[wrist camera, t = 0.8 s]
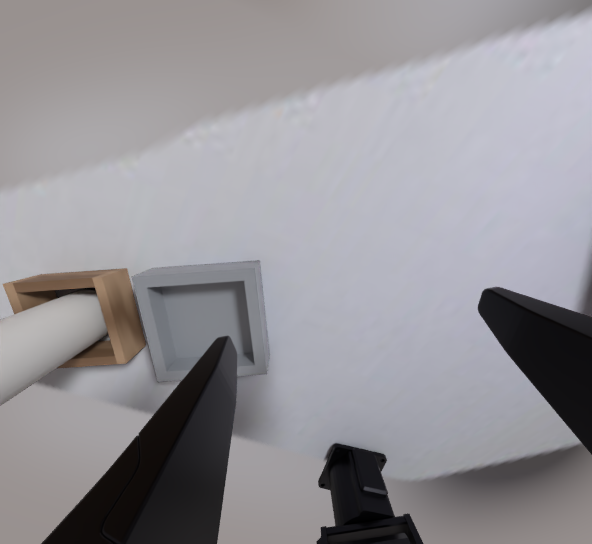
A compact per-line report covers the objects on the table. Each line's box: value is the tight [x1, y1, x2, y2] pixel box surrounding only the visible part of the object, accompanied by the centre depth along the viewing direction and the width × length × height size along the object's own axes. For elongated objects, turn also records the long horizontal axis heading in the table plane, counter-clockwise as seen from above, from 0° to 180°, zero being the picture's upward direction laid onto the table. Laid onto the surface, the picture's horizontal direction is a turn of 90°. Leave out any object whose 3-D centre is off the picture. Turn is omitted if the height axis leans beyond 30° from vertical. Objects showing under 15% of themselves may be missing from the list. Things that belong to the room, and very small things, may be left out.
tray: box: [132, 261, 270, 382], centre depth 22 cm, size 10×10×3 cm
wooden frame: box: [3, 268, 146, 368], centre depth 22 cm, size 8×8×3 cm
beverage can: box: [0, 290, 108, 406], centre depth 17 cm, size 5×5×12 cm
